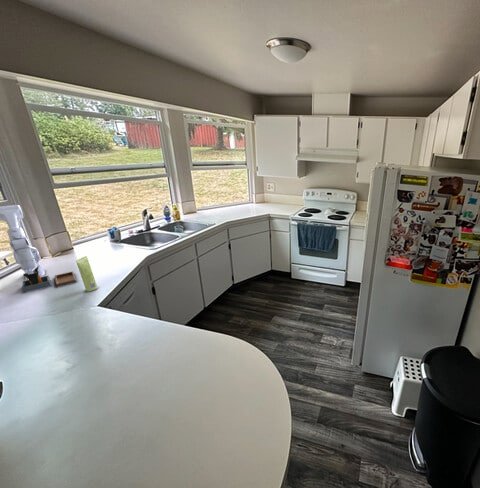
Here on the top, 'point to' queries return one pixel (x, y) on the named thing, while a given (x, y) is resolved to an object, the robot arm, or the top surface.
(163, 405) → the top surface
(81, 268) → the tube
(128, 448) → the top surface
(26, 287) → the bin
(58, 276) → the tray
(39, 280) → the bottle
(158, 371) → the top surface
